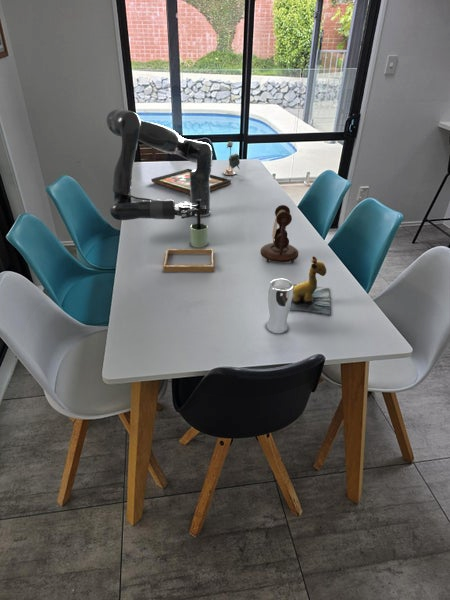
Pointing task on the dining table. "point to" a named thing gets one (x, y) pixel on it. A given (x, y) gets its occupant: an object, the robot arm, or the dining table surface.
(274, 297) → the beer glass
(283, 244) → the scroll
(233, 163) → the plant with pod
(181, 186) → the religious icon
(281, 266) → the dining table surface
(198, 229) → the black rectangular stick
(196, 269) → the oak tray
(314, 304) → the stuffed giraffe
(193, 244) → the pen cup
